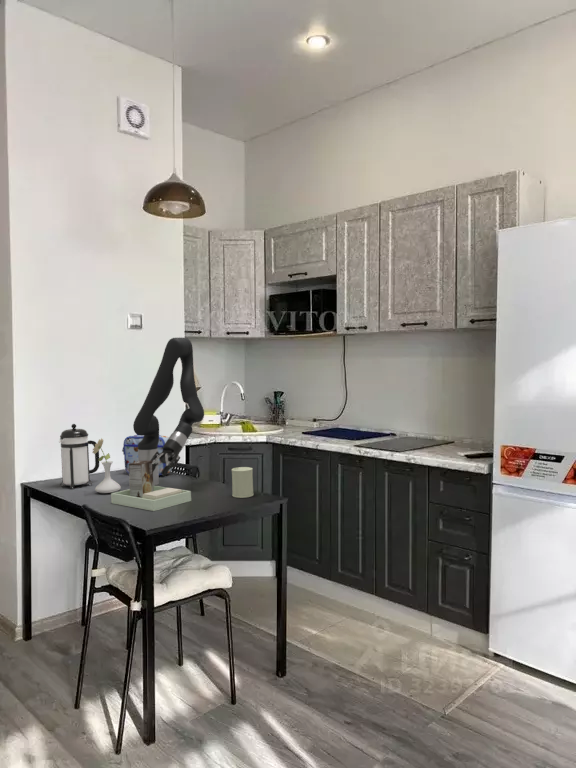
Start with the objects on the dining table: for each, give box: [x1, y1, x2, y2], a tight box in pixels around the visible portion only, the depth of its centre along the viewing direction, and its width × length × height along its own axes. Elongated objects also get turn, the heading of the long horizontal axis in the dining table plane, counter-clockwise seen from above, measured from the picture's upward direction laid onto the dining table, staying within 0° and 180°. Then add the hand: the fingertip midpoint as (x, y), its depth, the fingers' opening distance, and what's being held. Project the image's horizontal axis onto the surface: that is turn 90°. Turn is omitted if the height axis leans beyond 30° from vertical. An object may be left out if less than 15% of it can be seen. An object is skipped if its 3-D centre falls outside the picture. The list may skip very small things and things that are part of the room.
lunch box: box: [121, 434, 173, 476], centre depth 324 cm, size 28×10×22 cm, turn 68°
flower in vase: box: [92, 437, 122, 494], centre depth 282 cm, size 13×11×25 cm
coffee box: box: [128, 461, 154, 498], centre depth 260 cm, size 9×6×16 cm
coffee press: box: [58, 423, 100, 489], centre depth 300 cm, size 17×16×30 cm
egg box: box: [142, 487, 182, 500], centre depth 253 cm, size 8×14×5 cm, turn 143°
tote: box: [110, 485, 192, 512], centre depth 257 cm, size 26×20×5 cm
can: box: [231, 466, 254, 499], centre depth 269 cm, size 9×9×12 cm
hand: (156, 473), depth 267 cm, fingers open, 8 cm apart
